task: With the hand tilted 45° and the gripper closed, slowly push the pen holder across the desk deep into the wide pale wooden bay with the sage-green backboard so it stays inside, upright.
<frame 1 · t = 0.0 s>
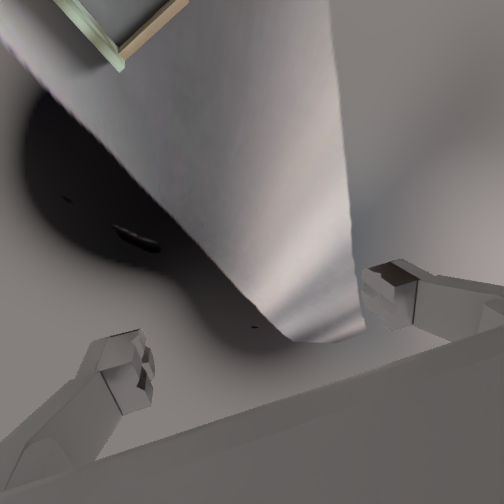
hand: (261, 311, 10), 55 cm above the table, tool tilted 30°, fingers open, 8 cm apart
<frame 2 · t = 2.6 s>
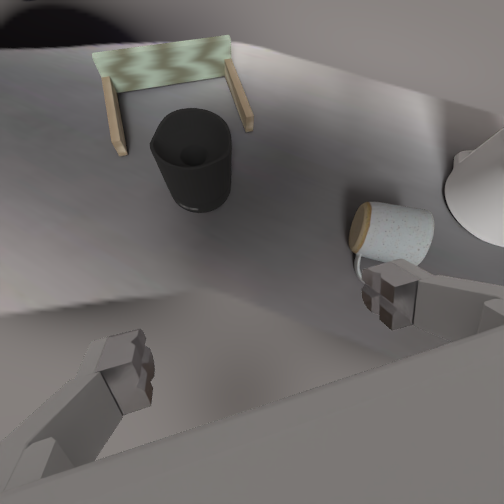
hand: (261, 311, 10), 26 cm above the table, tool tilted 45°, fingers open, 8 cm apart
ceramic mug: (375, 254, 39), on the table
corral: (179, 111, 47), on the table
pen holder: (201, 190, 42), on the table
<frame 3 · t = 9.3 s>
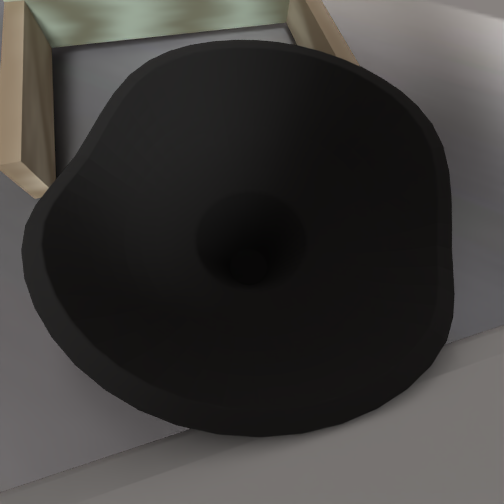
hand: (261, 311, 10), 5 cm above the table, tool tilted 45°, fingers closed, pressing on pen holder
corral: (191, 90, 21), on the table
pen holder: (245, 297, 15), on the table, touching gripper
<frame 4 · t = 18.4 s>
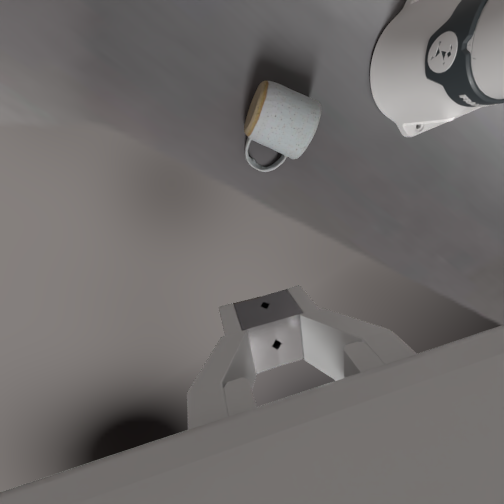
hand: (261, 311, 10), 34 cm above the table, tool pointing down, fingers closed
ceramic mug: (270, 133, 41), on the table
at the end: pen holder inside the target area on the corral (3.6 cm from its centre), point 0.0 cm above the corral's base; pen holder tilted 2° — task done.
